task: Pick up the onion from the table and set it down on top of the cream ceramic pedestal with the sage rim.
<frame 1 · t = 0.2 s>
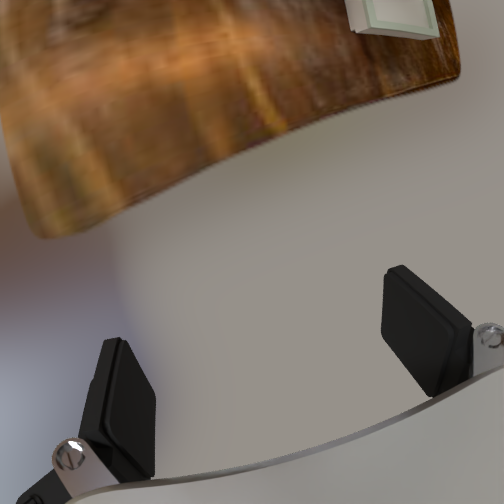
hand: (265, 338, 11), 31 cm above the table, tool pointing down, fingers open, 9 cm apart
pedestal: (372, 5, 32), on the table
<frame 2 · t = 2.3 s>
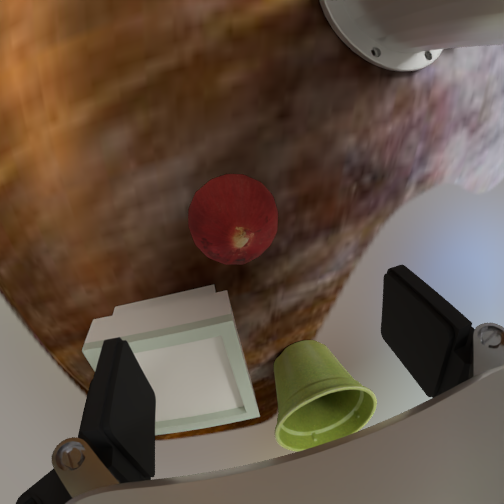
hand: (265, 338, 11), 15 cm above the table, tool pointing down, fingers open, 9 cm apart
plant pot: (300, 359, 33), on the table
pedestal: (178, 336, 29), on the table
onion: (227, 202, 25), on the table
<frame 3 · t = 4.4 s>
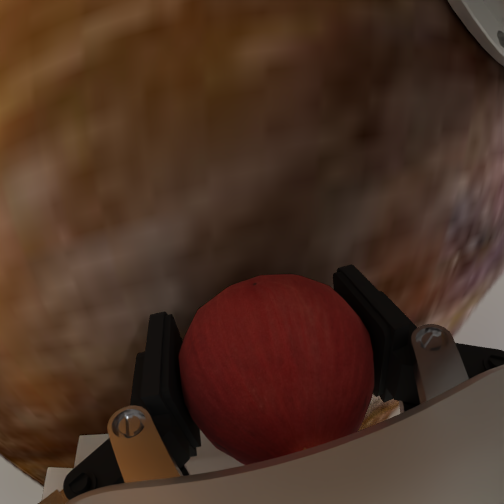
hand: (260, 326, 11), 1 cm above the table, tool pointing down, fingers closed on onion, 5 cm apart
pedestal: (176, 466, 17), on the table
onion: (252, 303, 13), on the table, touching gripper
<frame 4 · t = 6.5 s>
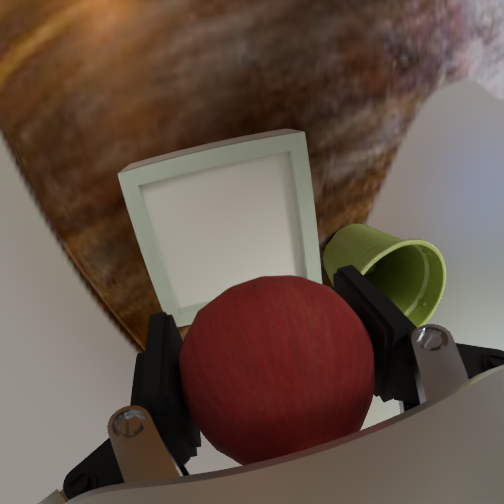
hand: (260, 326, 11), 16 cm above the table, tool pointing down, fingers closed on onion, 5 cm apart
plant pot: (350, 251, 30), on the table
pedestal: (220, 207, 26), on the table
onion: (252, 304, 13), point 14 cm above the table, touching gripper
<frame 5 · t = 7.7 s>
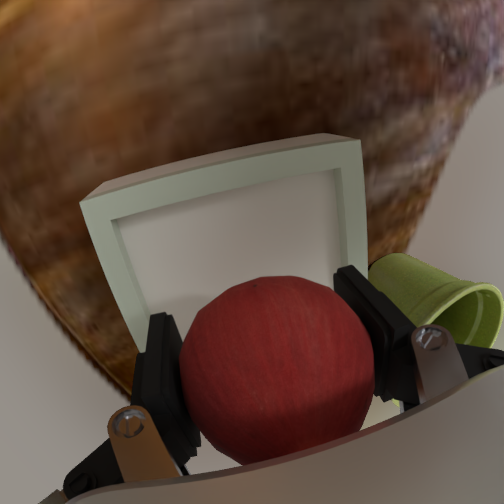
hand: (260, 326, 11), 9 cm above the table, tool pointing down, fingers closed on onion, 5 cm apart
plant pot: (386, 285, 24), on the table
pedestal: (229, 236, 20), on the table
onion: (252, 304, 13), point 8 cm above the table, touching gripper
when the fingers open (9 cm above the table, at t = 8.6 s): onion drops 1 cm, resting on pedestal.
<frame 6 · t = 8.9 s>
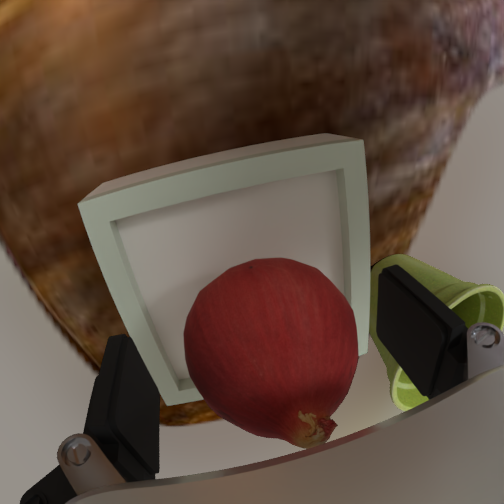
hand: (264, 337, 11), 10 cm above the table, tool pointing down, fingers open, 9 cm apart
plant pot: (387, 287, 24), on the table
pedestal: (230, 237, 19), on the table
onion: (245, 283, 14), point 6 cm above the table, touching pedestal
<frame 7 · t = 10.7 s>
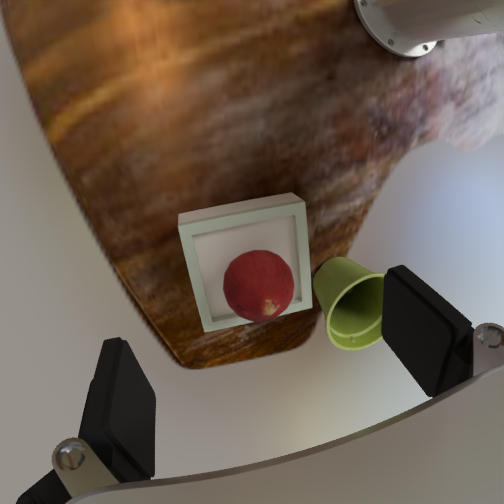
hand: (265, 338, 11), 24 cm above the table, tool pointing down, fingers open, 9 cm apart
plant pot: (334, 277, 40), on the table
pedestal: (239, 244, 35), on the table
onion: (249, 265, 30), point 6 cm above the table, touching pedestal
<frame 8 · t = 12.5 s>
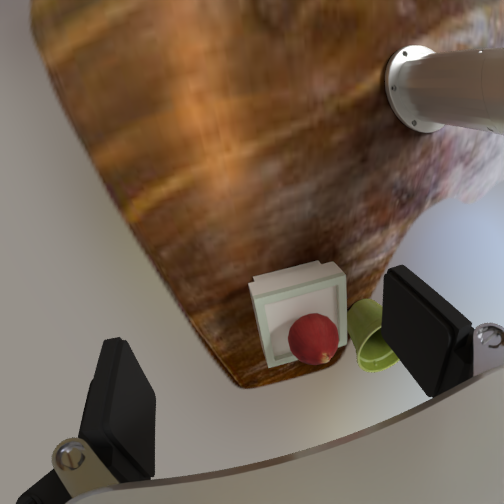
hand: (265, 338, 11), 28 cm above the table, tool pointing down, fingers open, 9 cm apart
plant pot: (360, 313, 49), on the table
pedestal: (290, 296, 45), on the table
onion: (303, 319, 39), point 6 cm above the table, touching pedestal
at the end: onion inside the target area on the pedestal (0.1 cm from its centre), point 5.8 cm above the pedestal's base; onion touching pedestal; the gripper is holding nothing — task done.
